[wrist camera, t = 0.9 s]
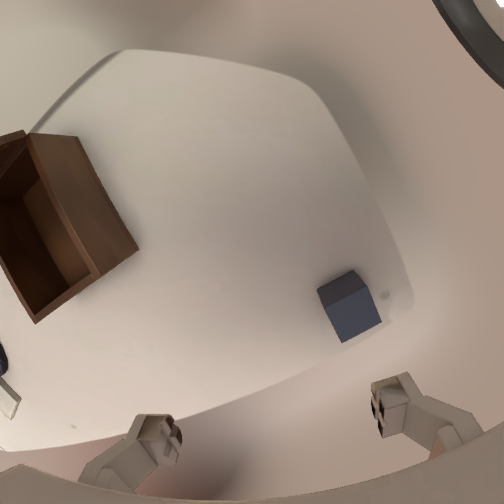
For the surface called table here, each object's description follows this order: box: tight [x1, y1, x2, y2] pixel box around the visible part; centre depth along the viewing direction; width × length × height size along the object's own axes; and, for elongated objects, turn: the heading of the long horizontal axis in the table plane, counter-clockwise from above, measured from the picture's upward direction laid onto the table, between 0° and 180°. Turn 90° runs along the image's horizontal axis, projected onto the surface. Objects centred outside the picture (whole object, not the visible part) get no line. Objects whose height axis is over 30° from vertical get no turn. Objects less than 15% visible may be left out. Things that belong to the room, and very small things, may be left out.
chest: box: [0, 133, 139, 324], centre depth 25 cm, size 15×12×8 cm
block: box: [317, 270, 382, 343], centre depth 28 cm, size 4×4×4 cm
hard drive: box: [0, 377, 20, 420], centre depth 39 cm, size 2×8×12 cm
